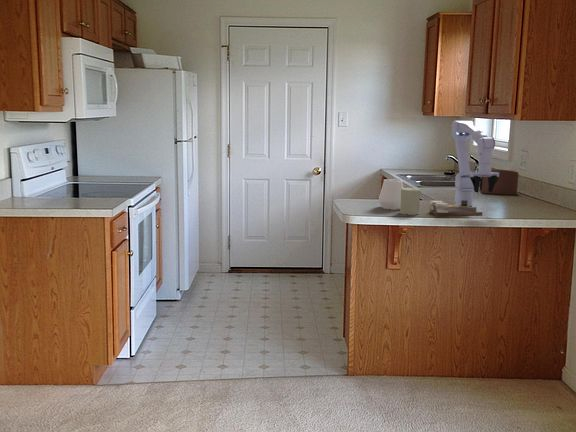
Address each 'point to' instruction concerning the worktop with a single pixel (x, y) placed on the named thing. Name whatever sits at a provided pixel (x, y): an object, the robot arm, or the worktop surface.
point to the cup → (391, 194)
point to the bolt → (463, 204)
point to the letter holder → (501, 183)
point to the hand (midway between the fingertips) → (483, 192)
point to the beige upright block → (410, 201)
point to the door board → (451, 209)
